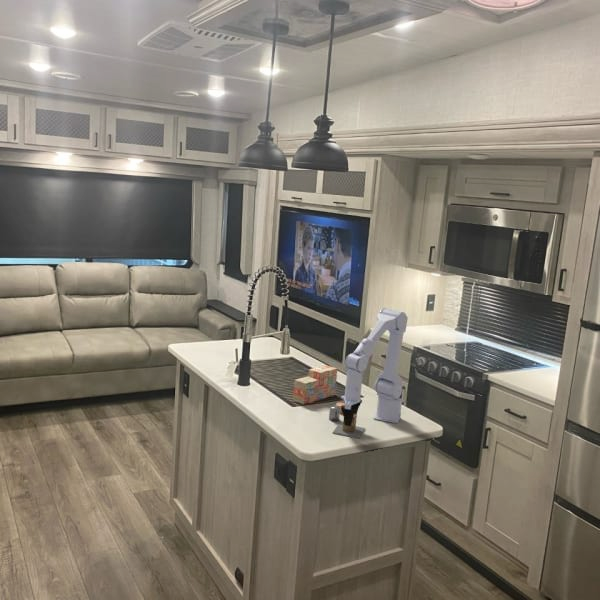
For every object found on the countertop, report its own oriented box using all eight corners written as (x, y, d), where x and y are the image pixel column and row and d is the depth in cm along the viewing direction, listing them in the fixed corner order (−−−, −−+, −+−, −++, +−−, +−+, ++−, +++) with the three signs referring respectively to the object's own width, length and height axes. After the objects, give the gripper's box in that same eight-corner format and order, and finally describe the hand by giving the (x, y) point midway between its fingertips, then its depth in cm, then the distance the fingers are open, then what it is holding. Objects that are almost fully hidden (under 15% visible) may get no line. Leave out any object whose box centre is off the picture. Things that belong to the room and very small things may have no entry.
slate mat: (365, 429, 225) (365, 428, 225) (359, 438, 216) (359, 437, 215) (339, 424, 228) (339, 423, 228) (332, 433, 218) (332, 432, 218)
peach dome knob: (348, 410, 244) (349, 403, 243) (346, 414, 239) (346, 407, 239) (337, 408, 245) (337, 401, 245) (334, 412, 241) (334, 405, 240)
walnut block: (355, 429, 223) (356, 413, 222) (353, 432, 219) (354, 417, 218) (344, 427, 224) (346, 411, 223) (342, 430, 220) (343, 415, 219)
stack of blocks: (303, 405, 246) (306, 376, 244) (292, 401, 250) (294, 372, 248) (335, 395, 263) (337, 367, 261) (324, 391, 267) (326, 364, 265)
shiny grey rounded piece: (340, 418, 234) (341, 406, 233) (337, 422, 230) (338, 409, 229) (330, 417, 235) (331, 404, 234) (327, 420, 231) (328, 408, 230)
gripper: (347, 379, 227) (343, 413, 229) (338, 390, 213) (334, 426, 215) (365, 382, 225) (362, 417, 227) (357, 393, 211) (353, 430, 213)
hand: (349, 422), depth 221 cm, fingers open, 7 cm apart
